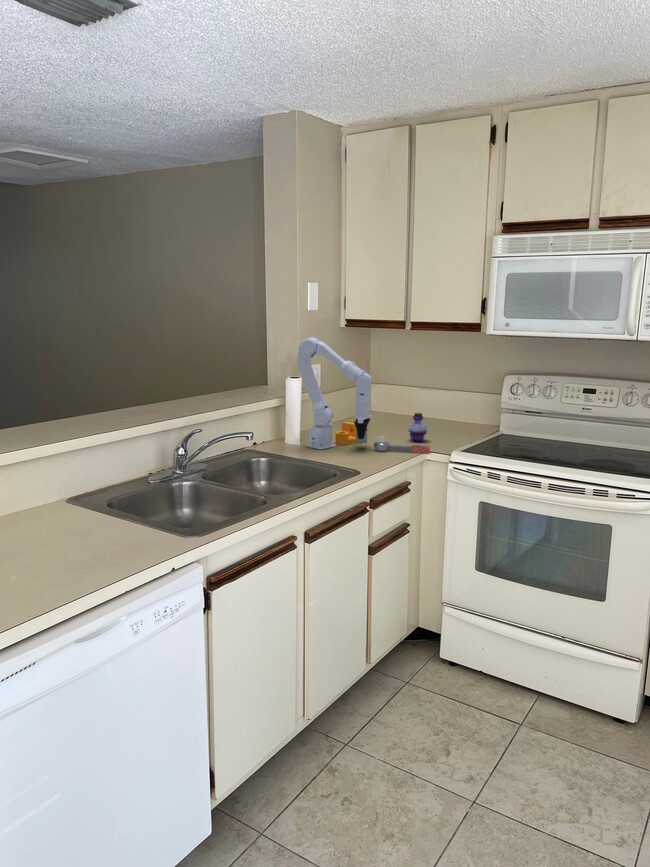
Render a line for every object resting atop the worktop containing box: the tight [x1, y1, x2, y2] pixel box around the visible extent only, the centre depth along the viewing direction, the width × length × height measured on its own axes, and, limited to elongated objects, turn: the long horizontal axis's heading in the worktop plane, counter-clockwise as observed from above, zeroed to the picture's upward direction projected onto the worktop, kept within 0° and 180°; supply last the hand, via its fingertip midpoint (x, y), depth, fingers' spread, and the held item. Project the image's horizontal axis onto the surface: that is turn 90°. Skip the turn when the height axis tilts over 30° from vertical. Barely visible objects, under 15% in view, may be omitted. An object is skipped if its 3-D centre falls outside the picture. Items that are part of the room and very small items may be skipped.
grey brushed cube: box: [356, 428, 369, 444], centre depth 266 cm, size 4×4×5 cm
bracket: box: [334, 421, 359, 446], centre depth 277 cm, size 11×7×12 cm
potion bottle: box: [407, 412, 429, 444], centre depth 280 cm, size 9×9×12 cm
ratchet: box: [373, 435, 431, 455], centre depth 263 cm, size 22×6×6 cm, turn 81°
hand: (361, 437), depth 266 cm, fingers closed on grey brushed cube, 4 cm apart
